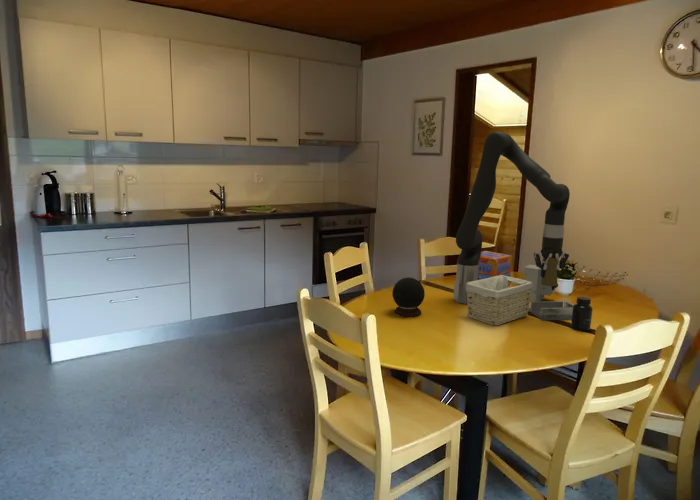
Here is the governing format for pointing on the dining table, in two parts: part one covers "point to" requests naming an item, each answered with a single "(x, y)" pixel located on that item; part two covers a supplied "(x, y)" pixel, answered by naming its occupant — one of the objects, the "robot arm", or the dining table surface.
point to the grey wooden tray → (552, 310)
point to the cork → (550, 272)
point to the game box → (494, 265)
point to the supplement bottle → (582, 314)
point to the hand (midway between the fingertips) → (549, 278)
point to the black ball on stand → (408, 297)
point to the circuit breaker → (537, 283)
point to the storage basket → (498, 299)
